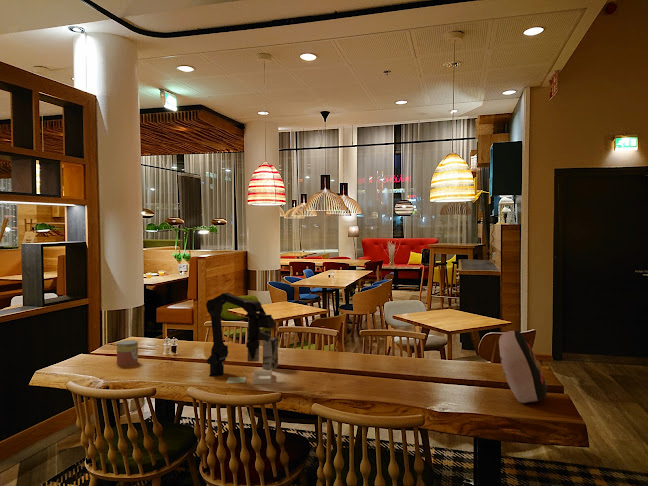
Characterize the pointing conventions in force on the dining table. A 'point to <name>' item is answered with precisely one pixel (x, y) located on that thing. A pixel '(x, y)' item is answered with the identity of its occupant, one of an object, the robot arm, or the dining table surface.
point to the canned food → (127, 352)
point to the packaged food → (521, 368)
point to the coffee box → (270, 353)
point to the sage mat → (236, 380)
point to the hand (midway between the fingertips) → (253, 357)
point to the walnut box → (256, 358)
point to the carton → (262, 377)
